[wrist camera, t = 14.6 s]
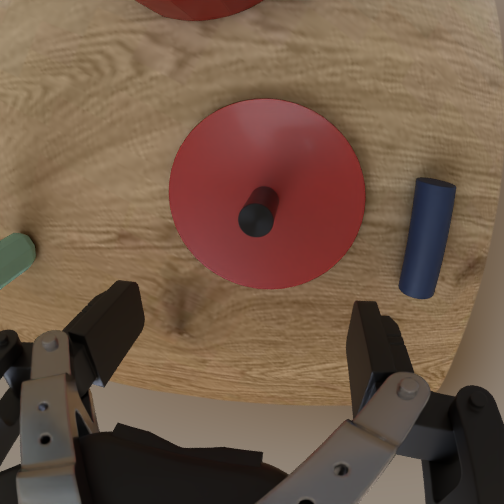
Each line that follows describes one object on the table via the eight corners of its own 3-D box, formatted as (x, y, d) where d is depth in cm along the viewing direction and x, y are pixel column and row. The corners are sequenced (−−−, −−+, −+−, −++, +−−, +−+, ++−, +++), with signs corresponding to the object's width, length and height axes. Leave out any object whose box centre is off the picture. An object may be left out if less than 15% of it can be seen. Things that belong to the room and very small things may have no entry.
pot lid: (253, 60, 23) (239, 42, 17) (401, 194, 26) (427, 217, 20) (141, 205, 29) (105, 229, 23) (273, 314, 32) (267, 357, 26)
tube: (416, 175, 25) (415, 181, 22) (454, 183, 23) (458, 190, 21) (400, 277, 29) (396, 294, 26) (433, 284, 27) (433, 302, 25)
